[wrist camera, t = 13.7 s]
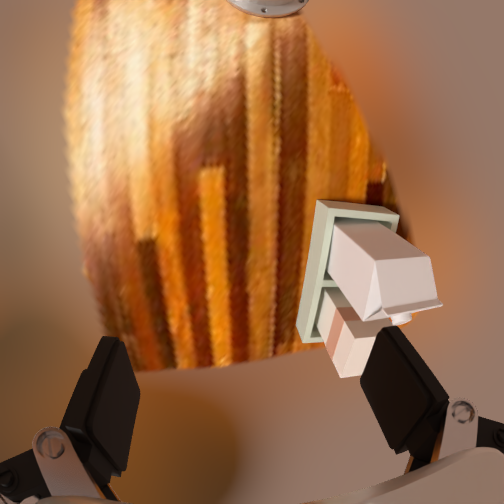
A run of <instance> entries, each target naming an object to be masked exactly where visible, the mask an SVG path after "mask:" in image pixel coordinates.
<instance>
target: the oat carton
mask: <svg viewBox="0 0 504 504" xmlns="http://www.w3.org/2000/svg"><path fill="white" fill-rule="evenodd" d="M314 322H315V324H316V326H317V328H318V330H319V332H320V335H321V337H322V339H323V341H324V343H325V345H326V346H325V347H326V349H327V351H328V353H329V355H330V357H331V360H332V361H333V363H334V365H335V367H336V369H337V372H338V374H339V376H340V378H344V377H351V376H358V375H362V373H363V371H364V368H365V366H366V363H367V360H368V358H369V355H370V352H371V350H372V347H373V344H374V341H375V338H376V335H377V333H378V332H380V330H381V329H382V328H383V327H388V326H394V325H393V324H392V322H391V321H390V320H389V319H388V318H383V319H377V320H371V321H364V322H363V321H362V320H361V318H360V317H359V315H358V314H357V313H356V311H355V310H354V308H353V307H352V305H351V304H350V302H349V301H348V300H347V298H346V297H345V295H344V294H343V292H342V291H341V290H340V288H339V287H322V288H321V293H320V297H319V302H318V306H317V311H316V315H315V320H314Z"/></svg>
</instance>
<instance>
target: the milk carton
mask: <svg viewBox="0 0 504 504" xmlns="http://www.w3.org/2000/svg"><path fill="white" fill-rule="evenodd" d="M325 269H326V270H327V272H328V273H329V274H330V276H331V277H332V278H333V280H334V281H335V283H336V284H337V285H338V287H339V288H340V290H341V291H342V292H343V294H344V295H345V297H346V298H347V300H348V301H349V302H350V304H351V305H352V307H353V308H354V310H355V311H356V313H357V314H358V315H359V317H360V318H361V320H362V321H363V322H364V321H371V320H377V319H383V318H388V317H391V319H392V324H393V325H400V324H404V323H407V322H409V321H411V320H412V316H411V313H414V312H417V311H422V310H426V309H431V308H436V307H440V306H443V304H442V303H441V302H440V301H439V300H438V298H437V292H436V286H435V281H434V275H433V270H432V265H431V260H430V257H429V256H428V255H426V254H425V253H424V252H422V251H421V250H419V249H418V248H416V247H415V246H413V245H412V244H411V243H409V242H408V241H406V240H405V239H403V238H402V237H400V236H399V235H397V234H396V233H394V232H393V231H391V230H390V229H388V228H386V227H385V226H383V225H382V224H380V223H379V222H377V221H376V220H371V219H360V218H349V217H337V216H335V218H334V224H333V230H332V236H331V241H330V247H329V252H328V258H327V263H326V268H325Z"/></svg>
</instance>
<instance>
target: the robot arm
mask: <svg viewBox="0 0 504 504" xmlns="http://www.w3.org/2000/svg"><path fill="white" fill-rule="evenodd" d="M227 1H228V2H229V3H230V4H231V5H232V6H234V7H235V8H237V9H239V10H240V11H243V12H245V13H247V14H251V15H254V16H259V17H272V18H275V17H283V16H287V15H291V14H293V13H295V12H297V11H299V10H300V9H301V8H303V7H304V5H305V4H306V3H307V2H308V0H227ZM262 11H264V12H265V13H264V12H262ZM360 384H361V387H362V389H363V391H364V393H365V395H366V398H367V400H368V402H369V404H370V406H371V408H372V410H373V412H374V414H375V416H376V419H377V420H378V423H379V425H380V427H381V429H382V432H383V433H384V436H385V438H386V440H387V442H388V445H389V447H390V448H391V449H394V451H395V453H396V454H399V453H402V452H405V451H407V450H409V453H410V457H409V460H408V463H407V466H406V469H405V472H404V475H402V476H399V477H397V478H394V479H391V480H388V481H386V482H383V483H380V484H377V485H374V486H371V487H368V488H364V489H361V490H358V491H355V492H351V493H347V494H343V495H339V496H335V497H331V498H327V499H322V500H318V501H312V502H307V503H302V504H504V424H503V423H500V422H496V421H493V420H489V419H486V418H482V417H479V416H478V410H477V408H476V406H475V405H474V404H473V403H472V402H471V401H470V400H468V399H465V398H455V399H453V400H452V401H451V402H449V401H448V399H449V396H448V394H447V393H446V392H445V390H444V389H443V387H442V386H441V384H440V383H439V381H438V380H437V378H436V377H435V376H434V374H433V373H432V371H431V370H430V369H429V367H428V366H427V365H426V363H425V362H424V360H423V359H422V358H421V356H420V355H419V354H418V352H417V351H416V350H415V349H414V347H413V346H412V344H411V343H410V342H409V340H408V339H407V338H406V336H405V335H404V334H403V333H402V331H401V330H400V329H399V327H397V326H388V327H383V328H382V329H381V330H380V332H378V333H377V335H376V338H375V341H374V344H373V347H372V350H371V352H370V355H369V358H368V360H367V363H366V366H365V368H364V371H363V373H362V376H361V378H360ZM139 399H140V389H139V386H138V383H137V381H136V378H135V375H134V372H133V369H132V366H131V363H130V360H129V357H128V354H127V351H126V347H125V344H124V342H122V341H120V340H119V338H118V337H109V336H103V337H102V338H101V340H100V342H99V344H98V346H97V348H96V350H95V353H94V355H93V357H92V359H91V361H90V364H89V366H88V368H87V369H85V370H83V372H82V373H81V376H80V378H79V380H78V382H77V385H76V387H75V390H74V392H73V394H72V397H71V399H70V402H69V404H68V407H67V409H66V412H65V415H64V417H63V420H62V423H61V425H60V428H56V427H47V428H43V429H42V430H40V431H39V432H38V433H37V434H36V435H35V437H34V439H33V444H32V447H33V448H32V449H30V450H28V451H26V452H24V453H22V454H20V455H17V456H15V457H13V458H10V459H8V460H6V461H3V462H1V463H0V504H131V503H125V502H121V500H120V499H119V497H118V496H117V495H116V493H115V492H114V490H113V489H112V487H111V486H110V484H109V483H110V479H111V475H112V476H117V477H121V472H122V471H125V470H126V468H127V462H128V456H129V450H130V444H131V439H132V434H133V428H134V424H135V419H136V414H137V409H138V405H139Z"/></svg>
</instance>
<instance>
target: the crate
mask: <svg viewBox="0 0 504 504" xmlns="http://www.w3.org/2000/svg"><path fill="white" fill-rule="evenodd" d="M335 216H337V217H349V218H360V219H371V220H376V221H377V222H379V223H380V224H382V225H383V226H385V227H386V228H388V229H390V230H391V231H393V232H394V233H396V230H397V225H398V221H399V216H400V215H398V214H396V213H394V212H392V211H390V210H389V209H387V208H385V207H382V206H374V205H366V204H357V203H348V202H338V201H328V200H317V201H316V208H315V216H314V223H313V229H312V236H311V243H310V249H309V255H308V261H307V267H306V273H305V279H304V285H303V290H302V296H301V301H300V306H299V312H298V317H297V322H296V326H297V329H298V332H299V334H300V337H301V340H302V342H303V343H312V342H324V341H323V339H322V337H321V335H320V332H319V330H318V328H317V326H316V324H315V322H314V320H315V315H316V311H317V306H318V302H319V297H320V293H321V288H322V287H338V285H337V284H336V283H335V281H334V280H333V278H332V277H331V276H330V274H329V273H328V272H327V270H326V269H325V268H326V263H327V258H328V252H329V247H330V241H331V236H332V230H333V224H334V218H335Z"/></svg>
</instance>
